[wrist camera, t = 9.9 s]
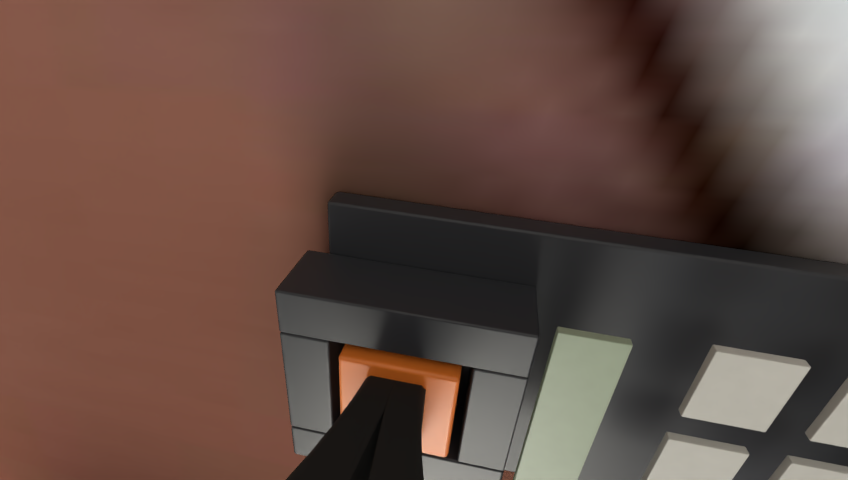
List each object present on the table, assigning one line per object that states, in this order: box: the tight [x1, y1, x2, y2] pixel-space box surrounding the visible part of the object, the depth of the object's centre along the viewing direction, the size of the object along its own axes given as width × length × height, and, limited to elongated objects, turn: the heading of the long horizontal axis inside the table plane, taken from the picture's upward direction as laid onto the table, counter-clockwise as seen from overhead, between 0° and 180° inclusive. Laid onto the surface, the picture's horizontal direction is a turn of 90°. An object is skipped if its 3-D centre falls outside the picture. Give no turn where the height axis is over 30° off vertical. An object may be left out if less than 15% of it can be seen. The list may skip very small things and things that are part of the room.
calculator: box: [275, 192, 848, 480], centre depth 11 cm, size 16×8×2 cm, turn 86°
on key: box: [339, 344, 462, 457], centre depth 11 cm, size 3×3×2 cm
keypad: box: [513, 327, 848, 480], centre depth 10 cm, size 7×9×1 cm
